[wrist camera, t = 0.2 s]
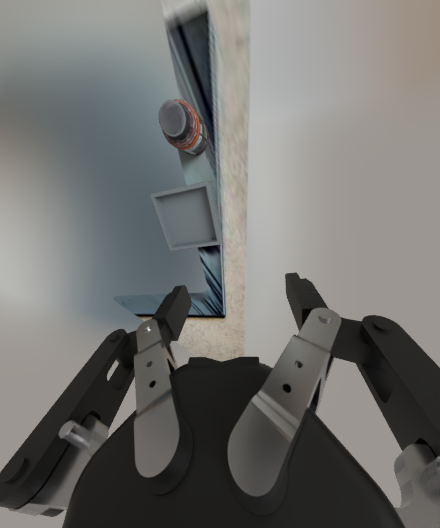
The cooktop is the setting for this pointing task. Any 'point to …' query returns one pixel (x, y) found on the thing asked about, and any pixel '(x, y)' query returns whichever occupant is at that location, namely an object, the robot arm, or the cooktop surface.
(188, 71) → the cooktop surface
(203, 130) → the supplement bottle
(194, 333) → the cooktop surface
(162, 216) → the tray
